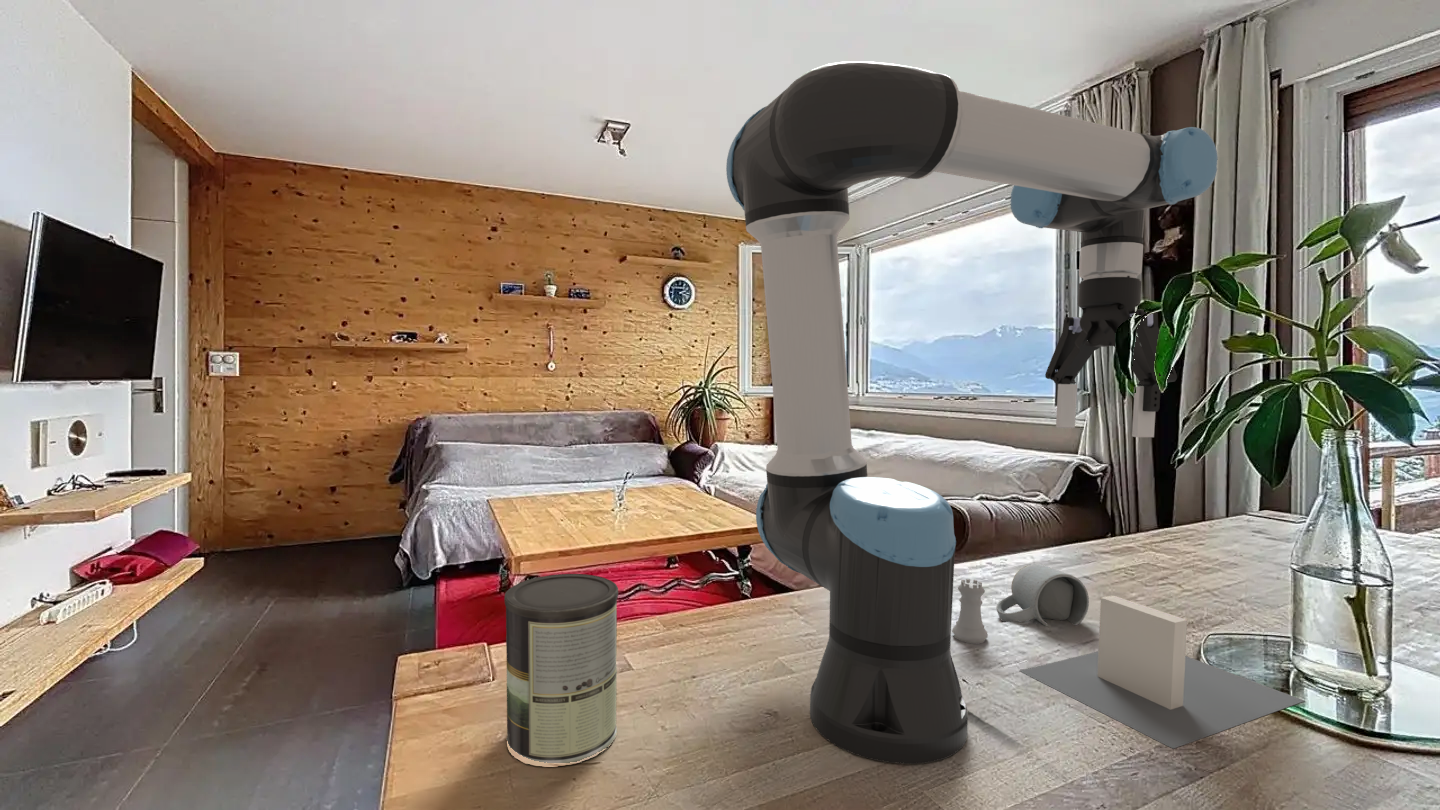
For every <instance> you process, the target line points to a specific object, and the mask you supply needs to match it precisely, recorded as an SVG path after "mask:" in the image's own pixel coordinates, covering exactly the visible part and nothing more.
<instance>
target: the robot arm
mask: <svg viewBox="0 0 1440 810" xmlns="http://www.w3.org/2000/svg"><path fill="white" fill-rule="evenodd" d="M727 153H728V154H727V158H726V171H725V172H726V180H727V184H728V187H729V191H730V193H731V195H732V197H733V199H734V200H735V202H736V203H738V204H739V205H740V206H741V209H742V210H743V211H744V221H745V222H744V223H745V230H746V232H747V233H748V234H750V236H752V237H753V238H754V239H755V240H757V241H758V243H759V244H760V250H761V262H762V275H763V287H764V299H765V311H766V321H767V334H768V335H767V336H768V345H769V346H768V348H769V359H770V371H771V383H772V396H773V408H774V409H773V411H774V420H775V431H776V432H775V433H776V444H777V445H776V448H777V451H776V452H775V454H774V455H773V457H772V458H771V459H770V460H769V461H768V462H767V464H766V466H765V472H766V484H765V488H764V490H763V492H761V493H760V494H759V497H758V500H757V505H756V509H755V521H756V526H757V531H758V534H759V536H760V539H761V541H762V542H763V544H764V545H765V548H766V549H768V551H769V552H770V553H771V554H772V555H773V556H774V557H775V558H776V559H777V560H778V561H779V562H780V563H781V564H782V565H784V566H786V567H787V568H788V569H789V570H792V571H794V572H795V573H799V574H801V575H802V576H804V577H806V578H807V579H809V580H811V581H812V582H814V583H815V584H817V585H819V586H820V587H823V588H824V589H825V590H828V591H829V623H828V624H829V627H828V630H829V631H828V641H827V645H826V646H825V649H824V652H823V655H822V658H821V661H820V664H819V668H818V671H817V673H816V677H815V680H814V681H813V683H812V686H811V687H810V694H809V695H810V699H809V702H810V704H809V717H810V720H811V723H812V725H813V726H814V728H815V729H816V731H817V732H818V733H819V734H821V736H822V737H824V738H825V739H826V740H827V741H829V742H830V743H832V745H835V746H837V747H838V748H841V749H842V750H844V751H845V752H846V751H847V752H849V753H851V754H854V755H857V756H859V757H862V758H865V759H870V760H873V761H874V760H875V761H879V762H885V763H892V764H903V765H904V764H907V765H908V764H909V765H910V764H911V765H912V764H925V763H932V762H936V761H941V760H944V759H946V758H948V757H951V756H953V755H954V754H956V753H957V752H959V751H960V750H961V749H962V748H963V746H964V745H965V743H966V741H967V738H968V720H969V719H968V718H969V714H968V707H967V704H966V700H965V699H964V697H963V694H962V693H963V692H962V689H961V685H960V681H959V677H958V674H957V671H956V667H955V663H954V661H953V658H952V652H951V640H952V639H951V637H952V636H951V635H952V634H951V633H952V618H953V617H952V615H953V614H952V613H953V599H954V597H953V596H954V595H953V594H954V578H955V577H954V574H955V557H956V556H955V553H956V545H957V540H956V539H957V538H956V536H955V528H954V526H955V525H954V513H953V512H954V511H953V509H952V507H951V504H950V503H949V502H948V500H947V499H946V498H945V497H944V496H942V495H941V494H940V493H938V492H936V491H935V490H933V489H930V488H928V487H926V486H923V485H920V484H917V483H914V482H910V481H900V480H897V479H894V478H888V477H877V476H868V466H867V464H868V463H867V462H868V461H867V459H866V457H864V456H863V455H862V454H861V453H860V452H859V451H858V450H856V449H855V448H854V446H853V443H852V430H851V416H850V415H851V414H850V413H851V412H850V404H849V403H850V401H849V388H848V387H849V386H848V373H847V371H848V370H847V361H846V360H847V359H846V346H845V332H844V317H843V307H842V304H843V303H842V302H843V301H842V292H841V279H840V278H841V276H840V264H839V263H840V261H839V250H838V235H839V234H840V233H841V232H840V231H842V229H843V228H844V227H845V226H846V225H847V223H848V222H849V221H850V205H849V190H848V189H849V188H851V187H853V186H854V185H858V184H860V183H863V182H864V183H865V182H867V181H868V182H869V181H872V180H875V179H881V178H882V179H883V178H890V177H891V178H892V177H894V178H895V177H898V178H899V177H900V178H904V179H905V178H907V179H911V180H920V179H924V178H927V177H928V176H930V175H932V174H933V173H934V172H935V173H941V174H946V175H952V176H958V177H964V178H969V179H976V180H980V181H987V182H992V183H999V184H1004V185H1009V186H1013V187H1012V189H1011V194H1010V210H1011V213H1012V215H1013V217H1014V218H1015V219H1016V220H1017V221H1018V222H1020V223H1022V224H1024V225H1028V226H1033V227H1036V228H1038V229H1044V228H1045V229H1052V230H1053V229H1054V230H1061V231H1070V232H1077V233H1081V234H1080V251H1079V252H1080V254H1079V267H1078V268H1079V269H1078V276H1079V277H1080V278H1081V279H1083V280H1080V283H1078V292H1077V306H1078V307H1079V308H1081V310H1082V314H1081V317H1078V316H1065V317H1064V319H1063V325H1062V332H1061V335H1060V336H1059V340H1058V342H1057V345H1056V347H1055V349H1054V352H1053V354H1052V357H1051V359H1050V362H1049V364H1048V366H1047V369H1046V371H1045V376H1044V377H1045V379H1048V380H1051V381H1053V382H1054V383H1055V396H1054V397H1055V405H1056V418H1055V419H1056V422H1055V423H1056V424H1055V428H1057V429H1075V428H1076V413H1077V393H1078V384H1076V383H1077V382H1076V381H1075V379H1076V377H1078V375H1079V373H1080V372H1081V371H1082V369H1083V368H1084V367H1085V365H1086V363H1087V362H1088V360H1089V359H1090V358H1091V356H1092V355H1093V353H1094V352H1095V351H1096V350H1099V349H1100V348H1106V347H1114V348H1116V347H1115V333H1116V330H1117V328H1118V327H1119V326H1120V325H1121V324H1122V323H1123V322H1125V321H1126V320H1128V319H1129V318H1130V317H1132V315H1133V314H1134V313H1136V314H1138V315H1141V317H1142V316H1143V315H1144V314H1146V312H1144V310H1145V309H1136V308H1137V307H1138V306H1139V305H1140V304H1141V300H1142V299H1141V298H1142V297H1141V296H1142V280H1140V278H1137V277H1139V276H1140V275H1141V274H1142V272H1143V257H1144V241H1145V240H1144V230H1145V217H1146V210H1147V209H1152V208H1157V207H1161V206H1166V205H1170V206H1172V205H1175V204H1178V202H1181V201H1184V200H1189V199H1192V198H1196V197H1199V196H1200V195H1202V194H1203V193H1205V192H1206V191H1207V190H1208V189H1209V188H1210V187H1211V186H1212V184H1213V182H1214V180H1215V178H1216V175H1217V170H1218V158H1219V156H1218V150H1217V147H1216V144H1215V142H1214V139H1212V137H1211V135H1210V134H1208V133H1207V131H1205V130H1203V129H1202V128H1200V127H1195V126H1189V127H1184V128H1181V129H1177V130H1174V129H1173V130H1169V131H1166V133H1163V134H1161V135H1149V134H1145V133H1141V132H1136V131H1131V130H1126V129H1122V128H1118V127H1115V126H1109V125H1105V124H1101V123H1097V122H1092V121H1089V120H1084V119H1080V118H1075V117H1071V116H1068V115H1062V114H1059V113H1055V112H1051V111H1046V110H1042V109H1038V108H1034V107H1029V106H1026V105H1022V104H1021V105H1020V104H1017V103H1013V102H1008V101H1004V100H999V99H996V98H991V97H987V96H985V95H979V94H974V93H971V92H965V91H962V90H959V88H958V86H957V83H956V82H955V80H954V79H953V78H952V77H951V76H948V75H947V74H944V73H940V72H936V71H932V70H927V69H922V68H919V67H913V66H908V65H902V64H897V63H888V62H878V61H863V60H862V61H840V62H832V63H827V64H824V65H821V66H818V67H816V68H813V69H811V70H809V71H806V72H804V73H803V74H802V75H800V76H799V77H797V79H795V80H794V81H793V82H792V83H791V84H790V85H789V86H788V87H787V88H786V89H784V90H783V92H781V93H780V94H779V95H778V96H777V97H776V98H774V99H773V100H772V101H771V102H770V103H769V104H768V105H766V106H764V107H762V108H760V109H759V110H757V111H756V112H754V113H753V114H752V115H751V116H750V117H749V118H748V119H746V121H745V122H744V124H743V126H742V127H741V128H740V129H739V131H738V132H737V134H736V135H735V137H733V140H732V142H731V144H730V147H729V149H728V152H727ZM1136 314H1135V315H1136ZM1145 316H1147V315H1145ZM1141 317H1140V318H1141ZM1143 319H1144V321H1143ZM1137 327H1138V329H1135V332H1136V333H1135V334H1136V335H1137V336H1136V342H1135V347H1134V356H1133V366H1132V369H1131V370H1132V372H1133V374H1134V375H1135V377H1136V379H1137V380H1138V381H1139V382H1138V383H1137V384H1136V385H1137V386H1135V387H1136V393H1134V392H1133V394H1134V395H1133V411H1132V415H1133V416H1132V430H1131V431H1132V432H1131V437H1134V438H1155V425H1156V424H1155V423H1156V412H1157V413H1158V412H1159V410H1160V405H1161V404H1160V403H1161V401H1160V400H1161V391H1162V390H1159V387H1158V385H1157V381H1156V376H1155V372H1154V361H1155V353H1156V346H1157V339H1158V334H1159V330H1160V328H1159V314H1158V312H1157V313H1154V314H1151V315H1149V316H1147V317H1146V318H1145V317H1143V318H1142V319H1141V322H1140V325H1138V326H1137ZM1134 359H1135V360H1134ZM1159 376H1161V375H1160V373H1159ZM1163 376H1164V375H1163ZM1177 379H1178V374H1177V373H1176V369H1175V366H1174V365H1173V367H1172V370H1171V372H1170V375H1169V377H1168V379H1167V383H1166V384H1168V383H1173V382H1176V380H1177Z"/></svg>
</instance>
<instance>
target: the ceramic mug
mask: <svg viewBox="0 0 1440 810" xmlns="http://www.w3.org/2000/svg"><path fill="white" fill-rule="evenodd" d="M1015 605H1017V606H1019V607H1020V609H1021V610H1020V611H1013V612H1006V611H1007V610H1008V609H1010V608H1012V607H1013V606H1015ZM1089 605H1090V597H1089V593H1088V590H1087V588H1086V586H1085V584H1084V583H1083V582H1082V581H1081V579H1079V578H1078V577H1076V576H1075V575H1072V574H1069V573H1067V572H1064V571H1061V570H1058V569H1056V568H1053V567H1051V566H1048V565H1045V564H1029V565H1028V564H1027V565H1025V566H1023V567H1022V568H1020V569H1019V570H1018V571H1017V572H1016V573H1015V574H1014V577H1013V578H1012V581H1011V595H1009V596H1006V597H1005V598H1003V599H1001V600H1000V601H999V602H998V603H997V605H996V606H995V607H996V612H997V614H998V617H999V618H1000V620H1001V621H1002V622H1003V623H1009V622H1014V621H1015V622H1020V623H1025V622H1028V621H1031V620H1034V619H1035V620H1036V621H1038V622H1039V623H1040V624H1042V625H1044V626H1050V624H1048V623H1047V622H1045V620H1044V619H1046V620H1047V619H1048V620H1055V621H1056V620H1057V621H1065V620H1067V622H1069V623H1071V624H1072V625H1073V626H1078V625H1080V624H1081V623H1082V622H1083V620H1084V619H1085V618H1086V615H1087V613H1088V610H1089Z"/></svg>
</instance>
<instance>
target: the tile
mask: <svg viewBox="0 0 1440 810" xmlns="http://www.w3.org/2000/svg"><path fill="white" fill-rule="evenodd" d="M1187 633H1188V619H1186V618H1182V617H1180V616H1177V615H1174V614H1170V613H1168V612H1165V611H1162V610H1158V609H1156V608H1152V607H1149V606H1148V605H1143V604H1140V603H1139V602H1134V601H1131V600H1128V599H1125V598H1122V597H1120V596H1116V595H1113V594H1112V595H1108V596H1107V595H1106V596H1102V597H1100V609H1099V631H1098V634H1099V635H1098V651H1099V652H1098V651H1097V652H1098V675H1097V676H1098V677H1100V678H1102V679H1104V680H1107V681H1109V682H1111V683H1113V684H1115V685H1118V686H1120V687H1122V688H1124V689H1126V690H1128V691H1131V692H1133V693H1135V694H1137V695H1139V696H1142V697H1144V698H1146V699H1148V700H1150V701H1153V702H1155V703H1157V704H1159V705H1161V706H1164V707H1166V708H1168V709H1170V710H1171V709H1174V708H1178V707H1181V706H1183V694H1184V674H1185V656H1187V654H1186V652H1187Z"/></svg>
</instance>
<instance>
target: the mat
mask: <svg viewBox="0 0 1440 810" xmlns="http://www.w3.org/2000/svg"><path fill="white" fill-rule="evenodd" d="M1098 652H1099V650H1098V651H1094V652H1091V653H1086V654H1082V655H1078V656H1074V657H1071V658H1066V659H1062V660H1061V659H1060V660H1058V661H1053V662H1050V663H1046V664H1042V665H1037V666H1034V667H1030V668H1025V669H1021V670H1019V672H1020V673H1022V674H1024V675H1026V676H1028V677H1029V678H1031V679H1034V680H1036V681H1038V682H1040V683H1042V684H1043V685H1046V686H1047V687H1050V688H1051V689H1053V690H1055V691H1058V693H1059V692H1060V693H1062V694H1063V695H1065V696H1067V697H1069V698H1071V699H1073V700H1076V701H1078V702H1079V703H1081V704H1083V705H1085V706H1087V707H1089V708H1091V709H1092V710H1095V711H1097V712H1099V713H1101V714H1103V715H1105V716H1106V717H1109V718H1110V719H1111V718H1112V719H1113V720H1115V721H1117V722H1118V723H1121V724H1123V725H1125V726H1126V727H1129V728H1131V729H1132V730H1134V731H1137V732H1139V733H1141V734H1143V735H1144V736H1146V737H1149V738H1150V739H1152V740H1155V741H1157V742H1158V743H1161V744H1162V745H1164V746H1166V747H1168V748H1170V749H1172V750H1175V749H1177V748H1180V747H1182V746H1185V745H1188V744H1191V743H1194V742H1196V741H1199V740H1201V739H1204V738H1208V737H1211V736H1212V735H1215V734H1218V733H1222V732H1224V731H1227V730H1229V729H1232V728H1236V727H1237V726H1240V725H1243V724H1245V723H1248V722H1252V721H1254V720H1257V719H1259V718H1263V717H1265V716H1268V715H1271V714H1273V713H1276V712H1279V711H1282V710H1285V709H1287V708H1290V707H1293V706H1295V705H1298V704H1301V703H1304V702H1305V700H1304V699H1301V698H1299V697H1297V696H1294V695H1291V694H1288V693H1285V692H1282V691H1281V690H1277V689H1275V688H1272V687H1269V686H1266V685H1264V684H1262V683H1259V682H1256V681H1254V680H1251V679H1248V678H1245V677H1243V676H1240V675H1238V674H1235V673H1232V672H1230V671H1228V670H1224V669H1221V668H1219V667H1216V666H1214V665H1212V664H1208V663H1205V662H1203V661H1200V660H1198V659H1195V658H1192V657H1189V656H1187V655H1185V674H1184V694H1183V706H1181V707H1178V708H1174V709H1171V710H1170V709H1168V708H1166V707H1164V706H1161V705H1159V704H1157V703H1155V702H1153V701H1150V700H1148V699H1146V698H1144V697H1142V696H1139V695H1137V694H1135V693H1133V692H1131V691H1128V690H1126V689H1124V688H1122V687H1120V686H1118V685H1115V684H1113V683H1111V682H1109V681H1107V680H1104V679H1102V678H1100V677H1098V676H1097V675H1098Z"/></svg>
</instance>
